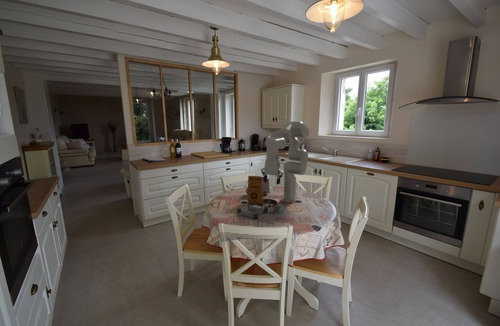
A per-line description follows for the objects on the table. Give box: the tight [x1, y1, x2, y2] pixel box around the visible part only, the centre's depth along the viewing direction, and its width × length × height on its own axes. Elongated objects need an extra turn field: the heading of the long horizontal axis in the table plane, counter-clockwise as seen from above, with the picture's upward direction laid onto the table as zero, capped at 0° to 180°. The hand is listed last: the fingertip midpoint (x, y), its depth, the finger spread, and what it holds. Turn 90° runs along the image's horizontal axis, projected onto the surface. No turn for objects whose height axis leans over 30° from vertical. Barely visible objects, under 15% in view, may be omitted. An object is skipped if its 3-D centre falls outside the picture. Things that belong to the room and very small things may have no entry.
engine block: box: [273, 203, 284, 215], centre depth 158 cm, size 6×4×5 cm
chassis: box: [236, 202, 269, 220], centre depth 156 cm, size 18×15×4 cm
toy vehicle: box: [245, 176, 270, 196], centre depth 192 cm, size 9×20×15 cm, turn 107°
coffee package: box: [247, 175, 264, 206], centre depth 173 cm, size 10×12×22 cm
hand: (271, 182), depth 148 cm, fingers open, 9 cm apart
